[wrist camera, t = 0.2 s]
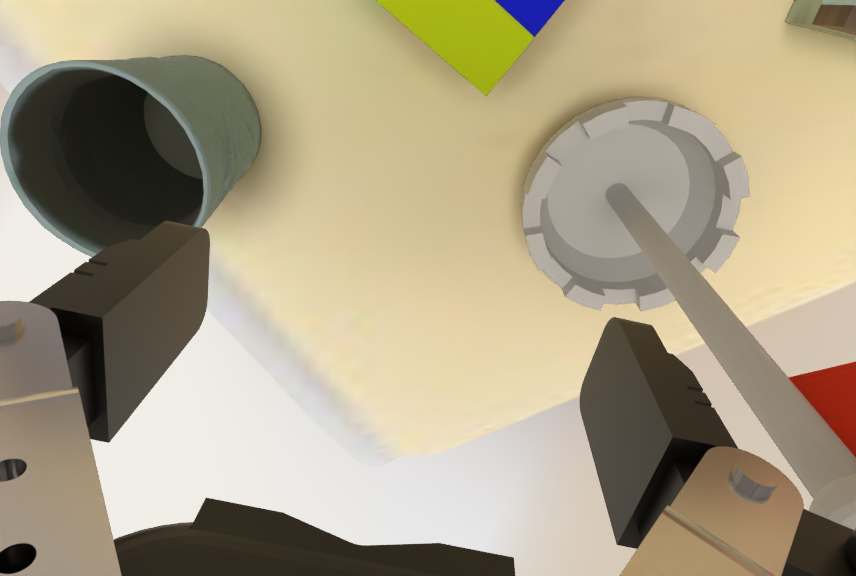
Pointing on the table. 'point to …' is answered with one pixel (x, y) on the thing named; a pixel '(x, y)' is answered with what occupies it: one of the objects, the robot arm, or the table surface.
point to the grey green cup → (126, 145)
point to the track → (825, 16)
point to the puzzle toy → (475, 32)
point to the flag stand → (680, 265)
